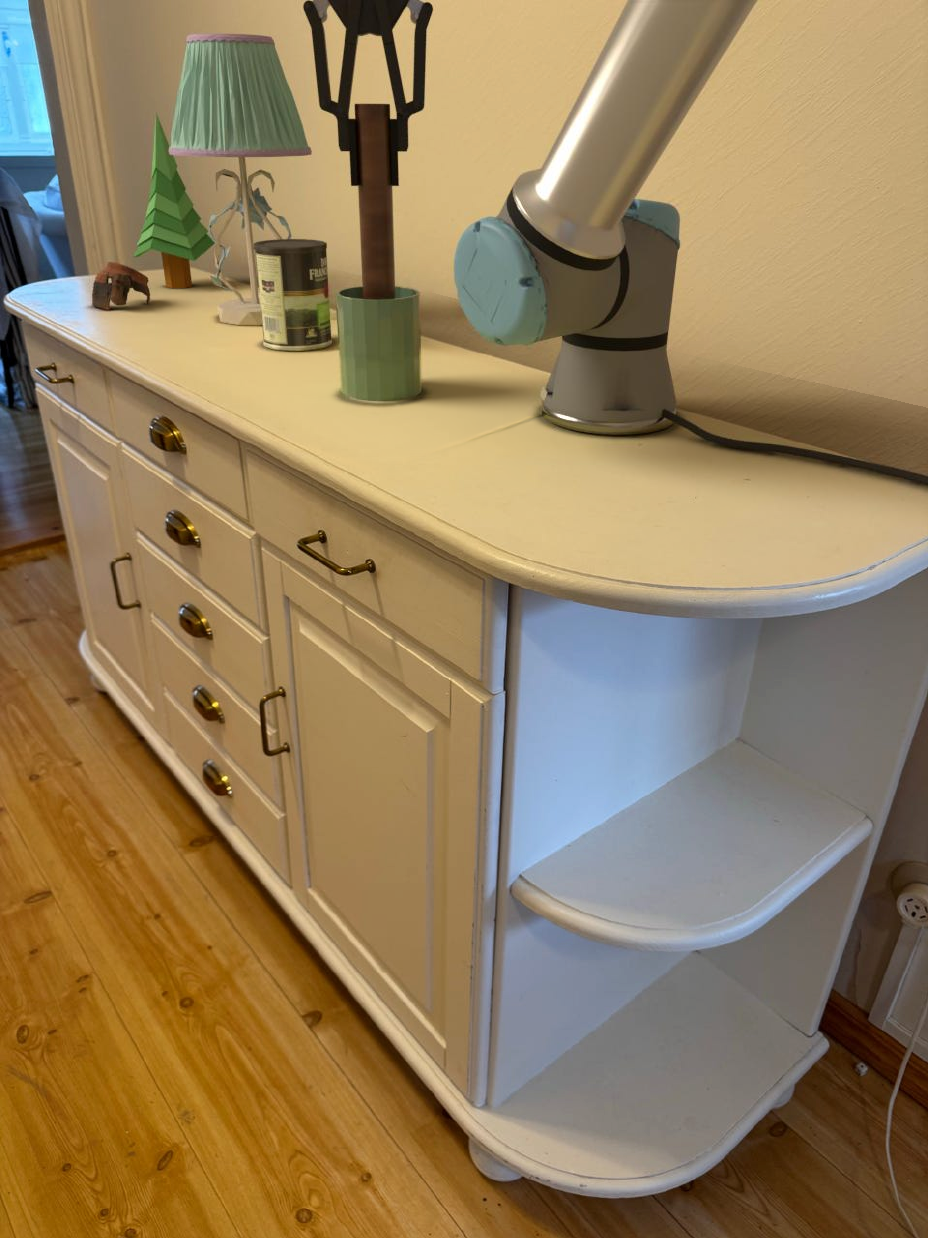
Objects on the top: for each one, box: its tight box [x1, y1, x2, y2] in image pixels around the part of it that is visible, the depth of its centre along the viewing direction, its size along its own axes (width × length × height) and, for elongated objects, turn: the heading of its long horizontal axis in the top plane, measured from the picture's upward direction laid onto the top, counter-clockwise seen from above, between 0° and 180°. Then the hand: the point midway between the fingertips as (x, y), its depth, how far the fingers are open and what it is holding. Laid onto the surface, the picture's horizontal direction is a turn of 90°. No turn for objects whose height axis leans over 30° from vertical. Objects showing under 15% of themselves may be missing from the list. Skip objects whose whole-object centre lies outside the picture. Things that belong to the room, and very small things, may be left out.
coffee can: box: [253, 238, 333, 352], centre depth 135 cm, size 10×10×14 cm
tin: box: [335, 285, 423, 402], centre depth 112 cm, size 10×10×12 cm
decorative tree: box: [132, 112, 216, 289], centre depth 174 cm, size 14×16×30 cm
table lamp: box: [169, 33, 313, 326], centre depth 145 cm, size 22×22×40 cm
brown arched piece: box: [91, 261, 151, 311], centre depth 161 cm, size 12×10×8 cm
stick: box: [354, 103, 396, 300], centre depth 104 cm, size 4×4×21 cm
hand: (375, 184), depth 103 cm, fingers closed on stick, 4 cm apart
